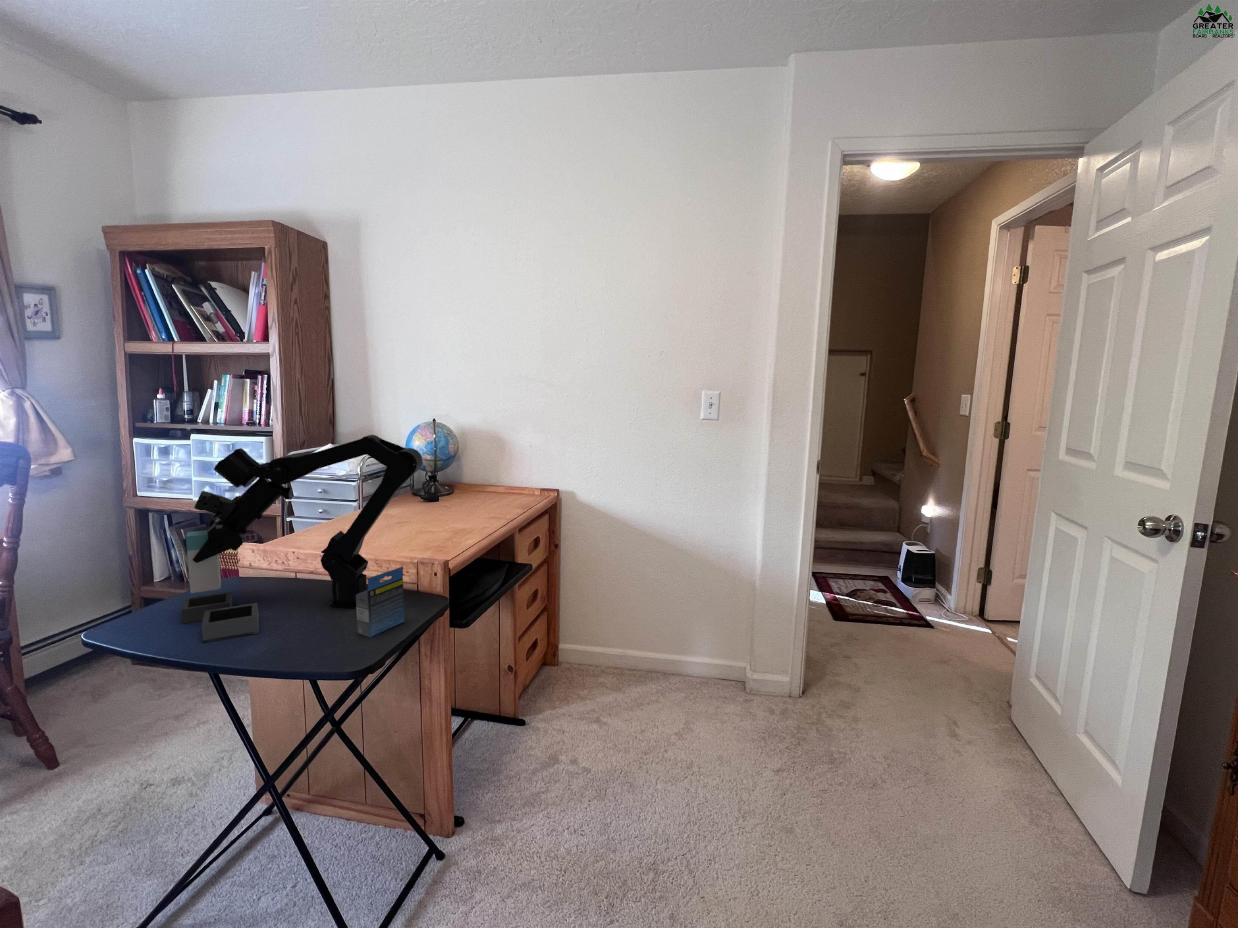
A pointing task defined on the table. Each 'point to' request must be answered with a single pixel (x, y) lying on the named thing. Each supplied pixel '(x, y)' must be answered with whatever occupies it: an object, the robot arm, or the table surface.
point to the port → (230, 622)
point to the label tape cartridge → (381, 604)
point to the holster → (204, 606)
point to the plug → (202, 565)
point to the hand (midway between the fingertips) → (195, 558)
